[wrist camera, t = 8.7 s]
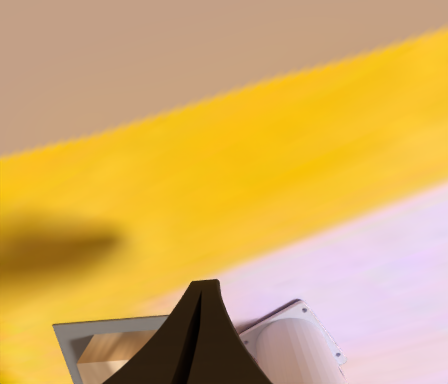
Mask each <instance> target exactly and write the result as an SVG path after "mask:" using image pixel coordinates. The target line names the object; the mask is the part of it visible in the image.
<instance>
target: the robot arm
mask: <svg viewBox="0 0 448 384" xmlns="http://www.w3.org/2000/svg"><path fill="white" fill-rule="evenodd" d="M304 308H305V309H304ZM302 309H304V310H302ZM251 355H252V356H253V357H254V358H255V359H256V361H257V362H258V364H257V363H256V361H255V360H254V359H253V357H252V356H251ZM346 361H347V358H346V356H345V355H344V353H343V352H342V351H341V349H340V348H339V347H338V345H337V344H336V343H335V341H334V340H333V339H332V337H331V336H330V335H329V333H328V332H327V331H326V329H325V328H324V327H323V325H322V324H321V323H320V321H319V320H318V319H317V317H316V316H315V315H314V313H313V312H312V311H311V309H310V308H309V307H308V305H307V304H306V303H305V302H304V301H302V300H300V301H298V302H296V303H294V304H292V305H290V306H289V307H287V308H285V309H283V310H282V311H280V312H278V313H276V314H274V315H273V316H271V317H269V318H267V319H266V320H264V321H262V322H260V323H259V324H257V325H255V326H253V327H251V328H250V329H248V330H246V331H244V332H243V333H241V334H239V335H238V334H237V332H236V330H235V328H234V326H233V324H232V322H231V320H230V318H229V315H228V313H227V311H226V308H225V305H224V303H223V300H222V296H221V290H220V282H219V280H217V279H213V280H201V281H192V282H191V283H190V285H189V287H188V288H187V290H186V291H185V293H184V295H183V296H182V298H181V299H180V301H179V302H178V304H177V305H176V307H175V308H174V309H173V311H172V312H171V314H170V315H169V316H168V318H167V319H166V320H165V322H164V323H163V324H162V325H161V327H160V328H159V329H158V330H157V332H156V333H155V334H154V335H153V336H152V337H151V338H150V340H149V341H148V342H147V343H146V344H145V345H144V346H143V347H142V348H141V349H140V350H139V351H138V352H137V353H136V354H135V355H134V356H133V357H132V358H131V359H130V360H129V361H128V362H127V363H126V364H125V365H123V366H122V367H121V368H120V369H119V370H118V371H116V372H115V373H114V374H113V375H112V376H111V377H109V378H108V379H107V380H106V381H104V382H103V383H102V384H348V382H347V380H346V378H345V376H344V373H343V371H342V369H341V367H340V365H342V364H344V363H346Z"/></svg>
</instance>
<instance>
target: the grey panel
mask: <svg viewBox="0 0 448 384" xmlns="http://www.w3.org/2000/svg"><path fill="white" fill-rule="evenodd" d="M168 316H169V315H164V316H152V317H139V318H127V319H114V320H101V321H89V322H76V323H64V324H54V325H53V328H54V331H55V334H56V337H57V339H58V342H59V345H60V347H61V350H62V353H63V356H64V358H65V361H66V364H67V367H68V369H69V372H70V375H71V377H72V380H73V383H74V384H83V381H82V378H81V376H80V373H79V370H78V367H77V362H78V360H79V359H80V357H81V355H82V354H83V352H84V351H85V349H86V347H87V346H88V344H89V343H90V341H91V339H92V338H93V336H94V334H106V333H119V332H132V331H145V330H158V329H159V328H160V327H161V325H162V324H163V323H164V322H165V320H166V319H167V318H168Z"/></svg>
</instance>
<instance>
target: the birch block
mask: <svg viewBox="0 0 448 384" xmlns="http://www.w3.org/2000/svg"><path fill="white" fill-rule="evenodd" d="M156 332H157V330H145V331H132V332H119V333H106V334H94V336H93V338H92V339H91V341H90V343H89V344H88V346H87V347H86V349H85V351H84V352H83V354H82V355H81V357H80V359H79V360H78V362H77V367H78V370H79V373H80V376H81V378H82V381H83V384H102V383H103V382H104V381H106V380H107V379H108V378H109V377H111V376H112V375H113V374H114V373H115V372H116V371H118V370H119V369H120V368H121V367H122V366H123V365H125V364H126V363H127V362H128V361H129V360H130V359H131V358H132V357H133V356H134V355H135V354H136V353H137V352H138V351H139V350H140V349H141V348H142V347H143V346H144V345H145V344H146V343H147V342H148V341H149V340H150V338H151V337H152V336H153V335H154V334H155V333H156Z"/></svg>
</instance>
